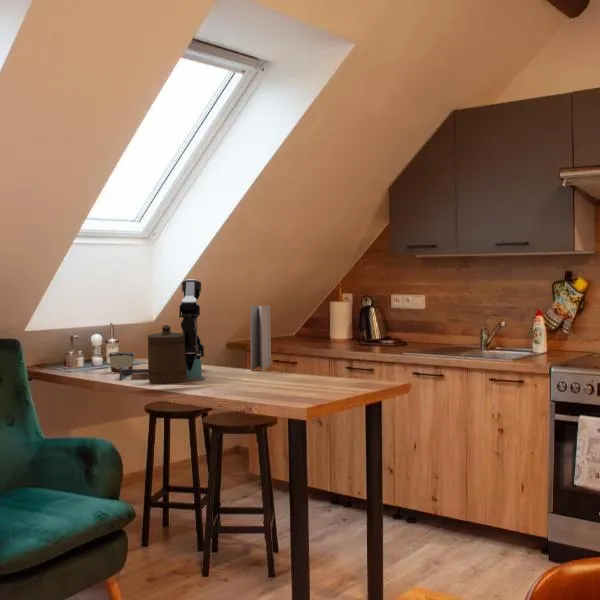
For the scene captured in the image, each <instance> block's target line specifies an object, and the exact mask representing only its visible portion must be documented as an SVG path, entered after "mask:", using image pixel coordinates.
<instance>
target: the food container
mask: <svg viewBox="0 0 600 600" xmlns="http://www.w3.org/2000/svg"><path fill="white" fill-rule="evenodd" d="M107 357H108V358H109V364H110V372H120V370H119V368H121V367H123V366H125V365H128V369H134V361H135V360H134V359H135V357H136V354H135V352H134V351H112V352H111V351H110V352H109V353H108V356H107Z"/></svg>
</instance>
